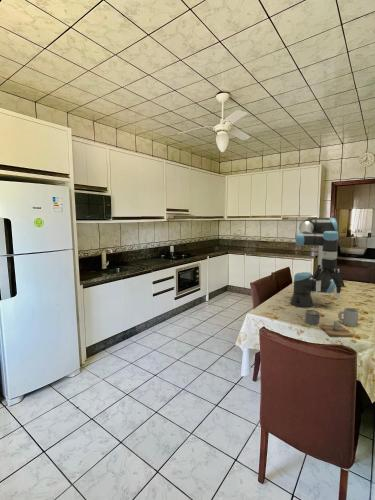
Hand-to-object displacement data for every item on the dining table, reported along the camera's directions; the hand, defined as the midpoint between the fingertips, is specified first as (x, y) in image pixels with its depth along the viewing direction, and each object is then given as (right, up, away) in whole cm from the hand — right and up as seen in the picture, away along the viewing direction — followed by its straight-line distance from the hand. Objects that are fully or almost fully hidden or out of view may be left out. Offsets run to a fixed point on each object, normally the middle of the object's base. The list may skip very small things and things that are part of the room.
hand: (327, 294), depth 150 cm
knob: (-6, -18, +7) cm, 20 cm away
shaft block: (+2, -20, -6) cm, 21 cm away
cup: (+15, -19, +5) cm, 24 cm away
